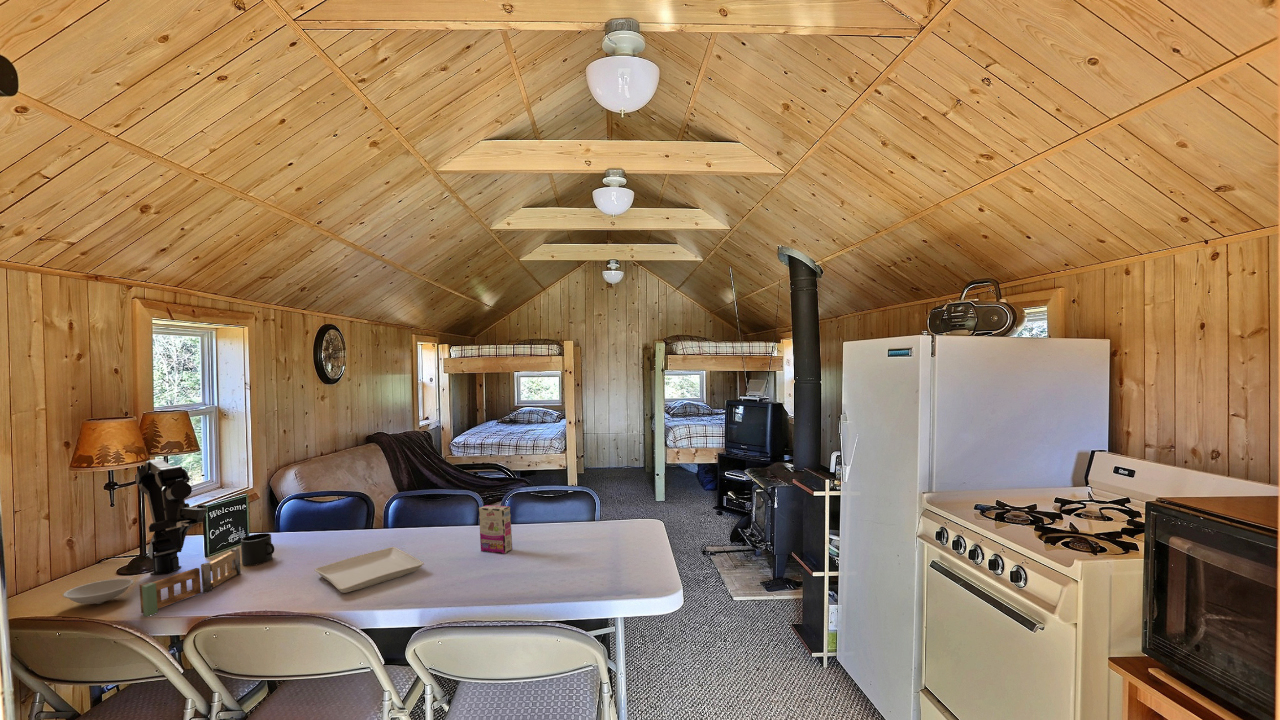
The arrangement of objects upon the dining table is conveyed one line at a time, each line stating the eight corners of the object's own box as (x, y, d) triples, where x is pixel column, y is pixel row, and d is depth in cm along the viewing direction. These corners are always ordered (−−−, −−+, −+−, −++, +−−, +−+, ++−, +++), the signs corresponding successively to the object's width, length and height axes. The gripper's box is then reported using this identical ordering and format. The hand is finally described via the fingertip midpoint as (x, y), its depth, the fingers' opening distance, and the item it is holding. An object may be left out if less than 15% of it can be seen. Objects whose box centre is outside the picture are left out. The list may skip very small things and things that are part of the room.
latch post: (153, 612, 175) (151, 582, 174) (157, 613, 174) (155, 583, 173) (143, 615, 172) (141, 585, 172) (148, 616, 171) (146, 586, 171)
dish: (49, 615, 176) (48, 599, 175) (90, 595, 190) (89, 580, 190) (110, 611, 177) (109, 595, 177) (147, 591, 191) (146, 576, 191)
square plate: (394, 555, 217) (393, 545, 217) (425, 573, 197) (425, 562, 197) (314, 577, 198) (313, 566, 198) (340, 600, 178) (339, 588, 178)
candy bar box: (513, 549, 216) (511, 506, 216) (505, 554, 212) (503, 509, 211) (488, 546, 220) (486, 504, 220) (480, 551, 216) (477, 507, 215)
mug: (264, 566, 210) (263, 541, 210) (235, 565, 212) (234, 541, 212) (284, 556, 219) (283, 533, 219) (256, 556, 221) (255, 532, 221)
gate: (197, 592, 187) (196, 566, 187) (201, 593, 187) (199, 566, 186) (141, 612, 173) (139, 584, 173) (144, 613, 173) (142, 585, 172)
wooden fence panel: (200, 593, 188) (198, 565, 188) (235, 573, 204) (234, 547, 204) (208, 592, 188) (206, 565, 188) (242, 572, 204) (240, 547, 204)
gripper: (181, 498, 191) (187, 546, 189) (215, 495, 210) (222, 538, 208) (144, 507, 190) (150, 555, 188) (182, 503, 208) (188, 546, 206)
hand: (180, 548), depth 197 cm, fingers closed
